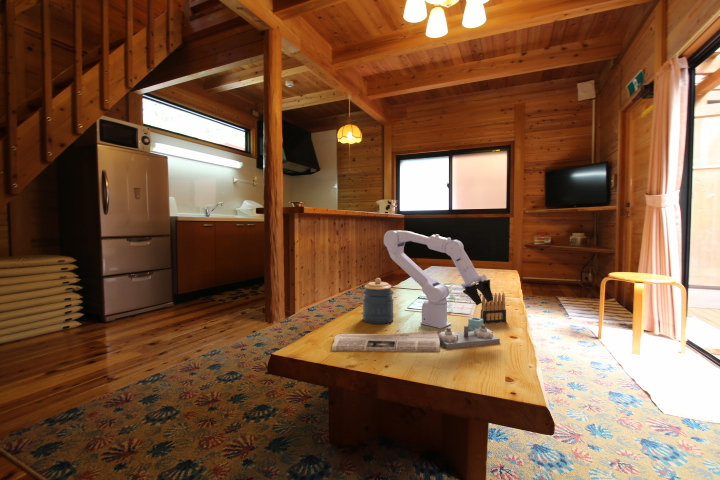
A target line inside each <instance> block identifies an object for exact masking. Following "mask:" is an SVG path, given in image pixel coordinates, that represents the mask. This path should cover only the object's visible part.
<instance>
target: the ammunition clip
mask: <svg viewBox="0 0 720 480" xmlns="http://www.w3.org/2000/svg"><path fill="white" fill-rule="evenodd" d="M492 296H493V300H491V301H490V302H488V301H487V300H486V299H485V298H484V296H483V295H482V298H481V301H482V303H481V310H480V317H479V318H481V319H483V325H486V324H496V323H507V309H506V295H505V291H504V292H502V294H501V292H499V293H498V294H497V292H495V293H494V294H493V293H492Z"/></svg>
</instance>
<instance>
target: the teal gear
mask: <svg viewBox="0 0 720 480" xmlns="http://www.w3.org/2000/svg"><path fill="white" fill-rule="evenodd" d="M467 320H468V322H467V326H468V331H469V332H471V331H474V330H475V329H480V327H481V325H484V324H483V319H481V318H480V317H475V316H472V317H470V318H468V319H467Z"/></svg>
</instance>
